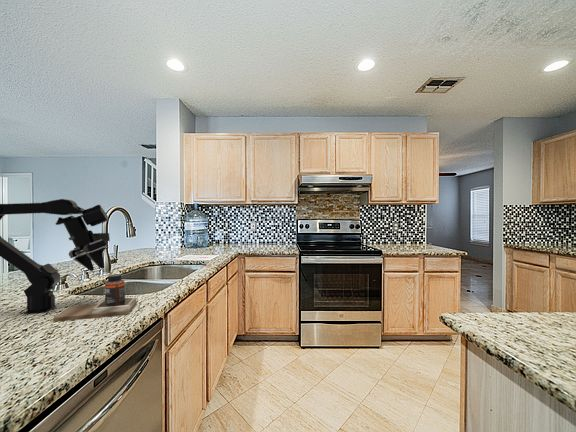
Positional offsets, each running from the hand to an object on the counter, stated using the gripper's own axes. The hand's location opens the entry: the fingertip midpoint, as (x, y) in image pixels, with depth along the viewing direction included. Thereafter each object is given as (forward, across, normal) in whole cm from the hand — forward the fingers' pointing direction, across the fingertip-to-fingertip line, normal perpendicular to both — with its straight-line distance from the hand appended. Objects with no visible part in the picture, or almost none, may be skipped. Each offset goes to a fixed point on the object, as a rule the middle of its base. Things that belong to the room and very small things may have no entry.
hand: (97, 269), depth 104 cm
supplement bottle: (+14, -10, +4) cm, 18 cm away
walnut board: (+13, -7, +8) cm, 17 cm away
